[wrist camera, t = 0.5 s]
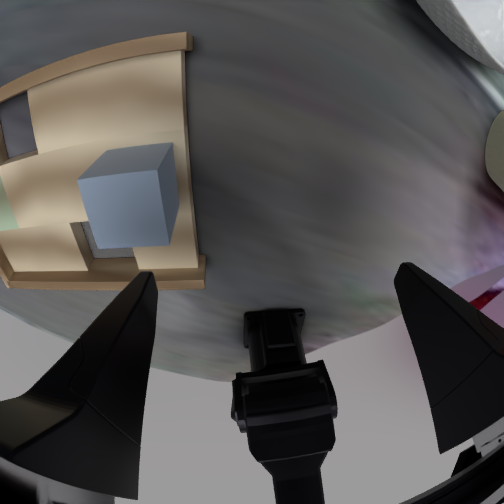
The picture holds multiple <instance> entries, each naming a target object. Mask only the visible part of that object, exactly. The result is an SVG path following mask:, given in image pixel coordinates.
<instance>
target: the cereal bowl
mask: <svg viewBox="0 0 504 504" xmlns="http://www.w3.org/2000/svg"><path fill="white" fill-rule="evenodd" d="M416 1H417V3H418V4H419V5H420V6H421V8H422V9H423V10H424V11H425V13H426V14H427V16H428V17H429V18H430V19H431V20H432V21H433V22H434V23H435V25H436V26H437V27H438V28H439V29H440V30H441V31H442V32H443V33H444V34H445V35H446V36H447V37H449V39H450V40H451V41H452V42H453V43H455V44H456V45H457V46H458V47H459V48H460V49H462V50H463V51H465V52H466V53H467V54H468V55H470V56H471V57H473V58H474V59H475V60H477V61H479V62H481V63H482V64H484V65H486V66H488V67H489V68H491V69H494V70H496V71H498V72H499V73H502V74H504V0H416Z"/></svg>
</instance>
